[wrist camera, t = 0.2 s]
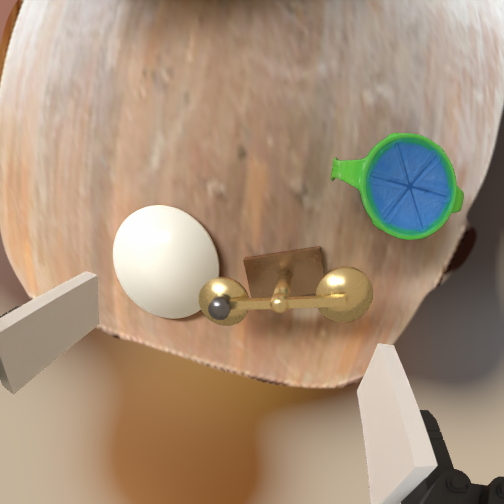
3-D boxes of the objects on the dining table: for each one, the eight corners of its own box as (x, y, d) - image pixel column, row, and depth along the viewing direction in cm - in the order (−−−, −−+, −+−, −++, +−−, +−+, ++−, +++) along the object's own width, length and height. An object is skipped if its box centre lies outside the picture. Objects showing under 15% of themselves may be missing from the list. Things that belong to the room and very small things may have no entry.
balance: (211, 262, 42) (181, 294, 32) (355, 240, 38) (373, 268, 27) (221, 301, 44) (196, 342, 33) (360, 283, 39) (376, 323, 29)
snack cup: (317, 201, 38) (322, 213, 28) (339, 122, 34) (352, 107, 25) (424, 238, 36) (456, 260, 27) (446, 165, 33) (485, 167, 23)
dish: (105, 217, 43) (101, 219, 42) (205, 192, 40) (202, 193, 39) (135, 318, 47) (132, 321, 46) (232, 310, 44) (230, 314, 43)
